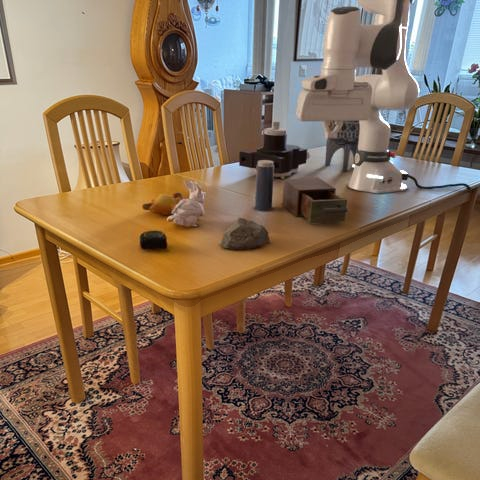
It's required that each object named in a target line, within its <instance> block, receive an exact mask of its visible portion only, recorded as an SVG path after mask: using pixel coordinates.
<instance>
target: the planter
mask: <svg viewBox="0 0 480 480" xmlns="http://www.w3.org/2000/svg"><path fill="white" fill-rule="evenodd" d="M328 127H329V130H330V131H333V130H334V128H335V127H336V124H335V121H330V126H328ZM359 132H360V124H359V121H343V126H342V127H341V129H340V130H339V132H338V135H337V139H326V146H325V160H324V161H325V162H324V166H330V165H331V163H332V159H333V157H334V154H335V153H336V152H337V151H338V150H340V149H342V150H343V159H342V172H348V170H349V169H348V167H349V161H350V154H351V153H352V157H353V165H355V155H356V149H357V148H358V142H359Z"/></svg>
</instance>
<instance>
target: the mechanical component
mask: <svg viewBox="0 0 480 480" xmlns="http://www.w3.org/2000/svg"><path fill="white" fill-rule="evenodd" d="M280 124H281V123H280V121H272V124H271V125H272V126H271V127H266V128H264V129H263V132H264V133H263V146H259V147H257V148H256V151H249V150H240V151H239V157H238V161H239V162H238V166H239V167H243V168H249V169H254V170H256V169H257V165H258V161H260V160H270V161H273V165H274V178H277V177H278V178H279V177H280V180H284V179H285V177H288V176H289V177H290V176H291V175H292V174H293V173H294V174H297V173H298V172H299V166H301V165H305V164H307V160H309V159H310V157H311V155H310V154H311V153H310V152H309V151H308V149H307V148H301V147H300V146H299V145H294V144H287V140H288V138H287V137H288V129H287V128H282V127H280Z"/></svg>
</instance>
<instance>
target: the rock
mask: <svg viewBox="0 0 480 480" xmlns="http://www.w3.org/2000/svg"><path fill="white" fill-rule="evenodd" d="M234 221H235V222H234V223H232V224H231V225H230V226H229V227H228V228H227V229H226V230H225V231H224V232H223V236H222V239H221V246H222V247H223V248H224V249H230V250H232V251H244V250H250V249H256V248H259V246H261V245H265V244H266V242H270V237H269V231H268V230H267V228H266V227H264V225H262V224H259V223H257V222H255V221H253V220H247V219H245V218H242V217H237V218H236V220H234Z"/></svg>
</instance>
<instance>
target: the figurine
mask: <svg viewBox="0 0 480 480" xmlns="http://www.w3.org/2000/svg"><path fill="white" fill-rule="evenodd" d="M183 183H184V186H185V187H186V188H187V190H188V191H189V198H182V200H181V201H180V202H179V203H178V204H177V205H176V206H175V208H174V210H173V211H172V214H171V215H168V217H167V218H166V221H167V223H171V222H173V223H174V224H175V225H176V224H178V225H180V226H184V227H198V225H197V224H196V223H197V221H198V220H199V219H200V217H202V218H203V217H204V216H205V214H206V213H205V210H204V204H203V203H204V202H205V197H206V195H207V193H206V192H205V191H202V185H201V184H200V183H199V182H197V181H196V180H193V181H191V180H189V179H187V178H185V180H183ZM195 188H196V189H195Z"/></svg>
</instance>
